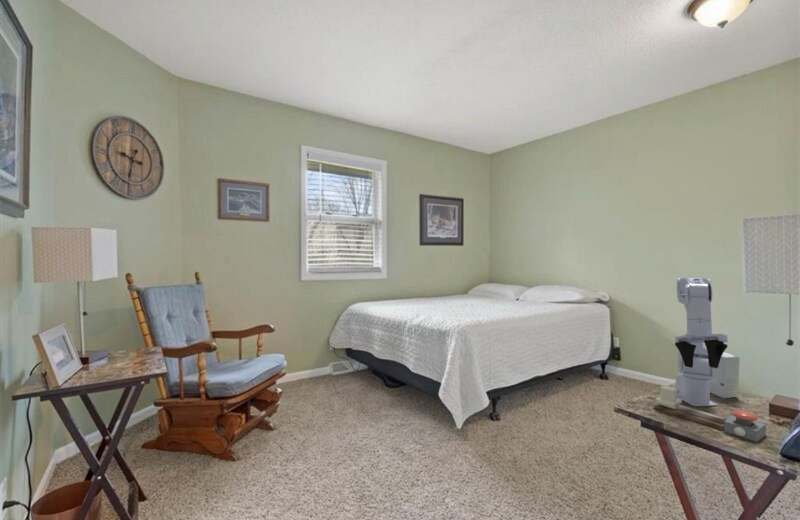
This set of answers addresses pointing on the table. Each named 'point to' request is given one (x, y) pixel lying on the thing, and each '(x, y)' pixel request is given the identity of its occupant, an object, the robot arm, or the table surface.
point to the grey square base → (745, 429)
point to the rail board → (694, 415)
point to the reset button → (744, 417)
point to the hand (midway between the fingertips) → (700, 367)
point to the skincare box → (726, 377)
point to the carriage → (668, 397)
